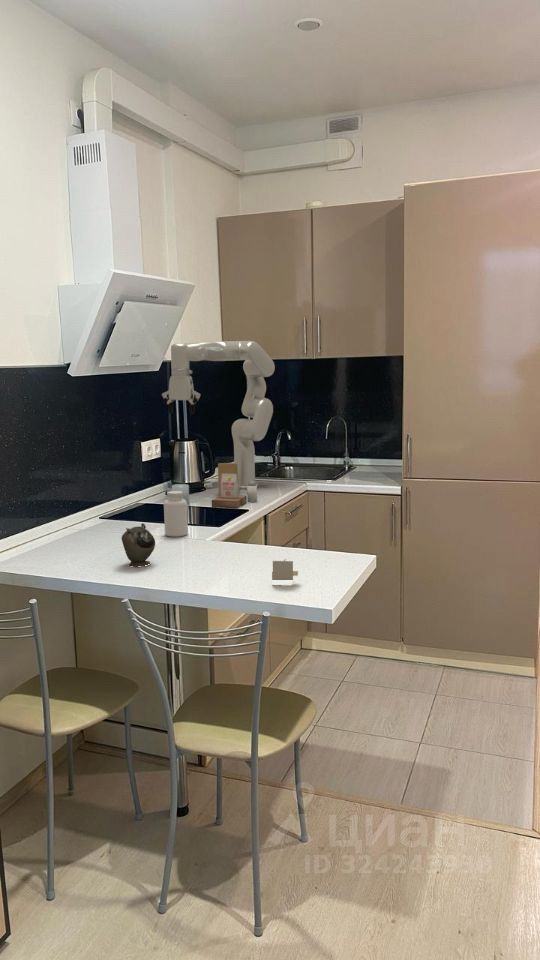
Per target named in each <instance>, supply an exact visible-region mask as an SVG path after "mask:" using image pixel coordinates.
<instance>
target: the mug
mask: <svg viewBox="0 0 540 960" xmlns="http://www.w3.org/2000/svg"><path fill="white" fill-rule="evenodd" d="M170 491H182V492H183V498H182V499H184V500H185V501H186V502H187V506H189V505H190V486H189V484H186V483H175V484H172V485H171V488H166V500H168V498H167V497H168V495H167V493H168V492H170Z"/></svg>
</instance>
